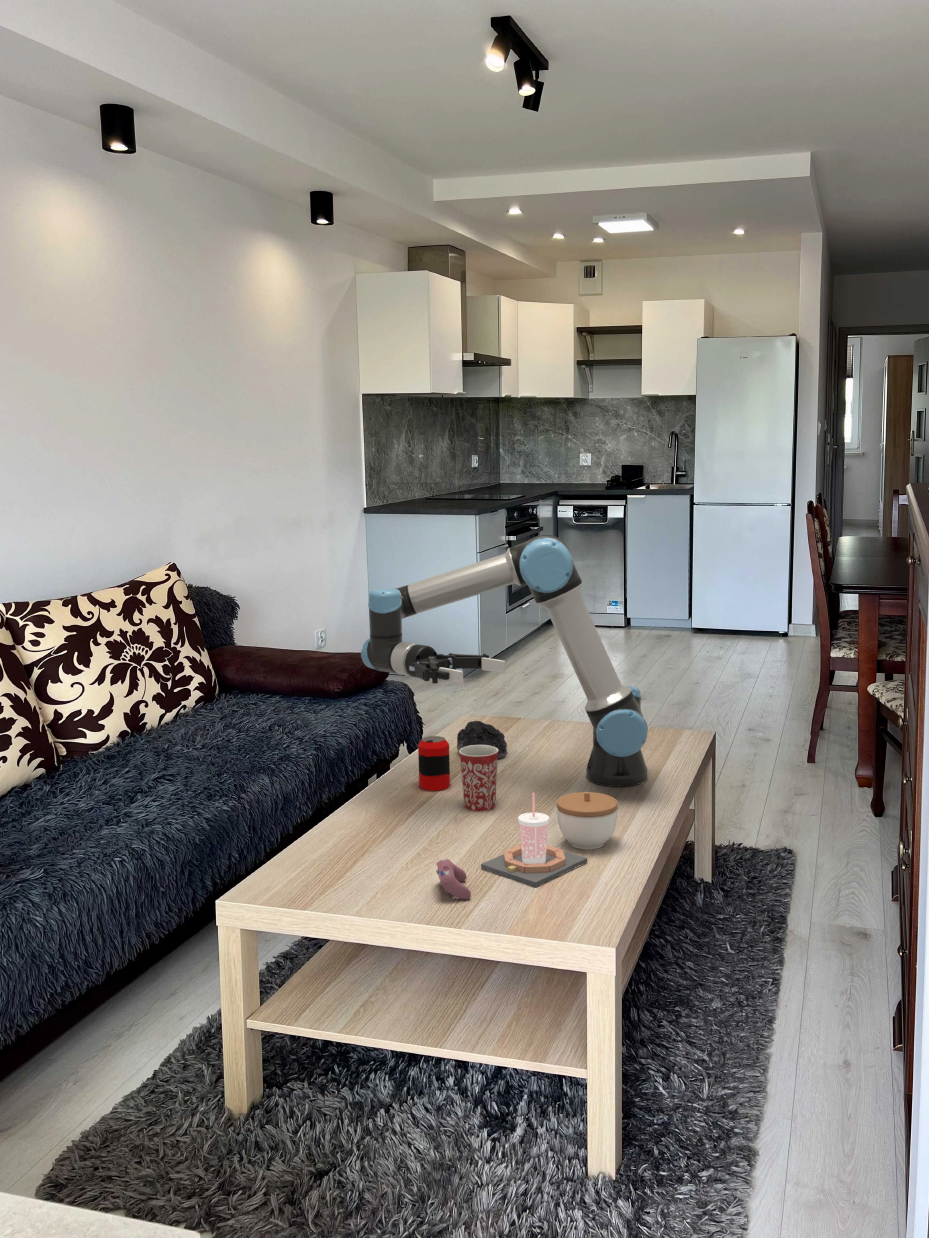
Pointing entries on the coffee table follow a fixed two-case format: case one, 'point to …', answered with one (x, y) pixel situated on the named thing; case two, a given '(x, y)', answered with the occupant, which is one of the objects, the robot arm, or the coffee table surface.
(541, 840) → the beverage cup
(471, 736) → the black rock
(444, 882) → the video game controller
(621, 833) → the coffee table surface
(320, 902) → the coffee table surface
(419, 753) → the soda can
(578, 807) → the lidded bowl
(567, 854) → the ring board
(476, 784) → the mug
